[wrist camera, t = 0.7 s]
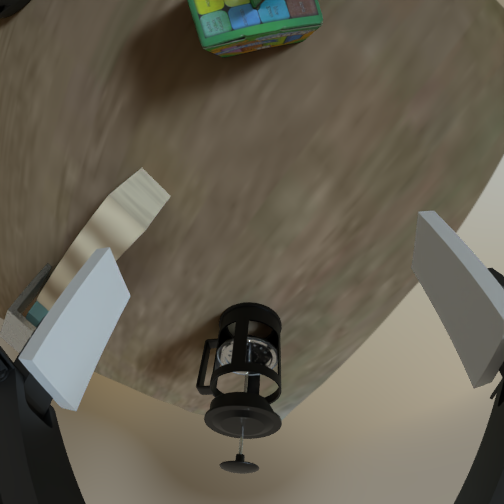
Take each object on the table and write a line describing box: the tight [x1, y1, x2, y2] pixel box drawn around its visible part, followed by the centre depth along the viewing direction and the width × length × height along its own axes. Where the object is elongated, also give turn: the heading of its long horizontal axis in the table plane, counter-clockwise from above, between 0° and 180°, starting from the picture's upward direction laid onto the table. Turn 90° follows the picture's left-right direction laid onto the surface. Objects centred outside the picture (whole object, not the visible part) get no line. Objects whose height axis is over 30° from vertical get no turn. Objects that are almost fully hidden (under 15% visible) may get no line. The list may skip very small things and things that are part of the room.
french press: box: [196, 303, 282, 473], centre depth 37 cm, size 12×9×23 cm
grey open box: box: [0, 263, 52, 353], centre depth 41 cm, size 10×11×12 cm
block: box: [26, 301, 49, 327], centre depth 42 cm, size 6×6×9 cm
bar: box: [36, 168, 171, 311], centre depth 36 cm, size 22×5×9 cm, turn 131°
